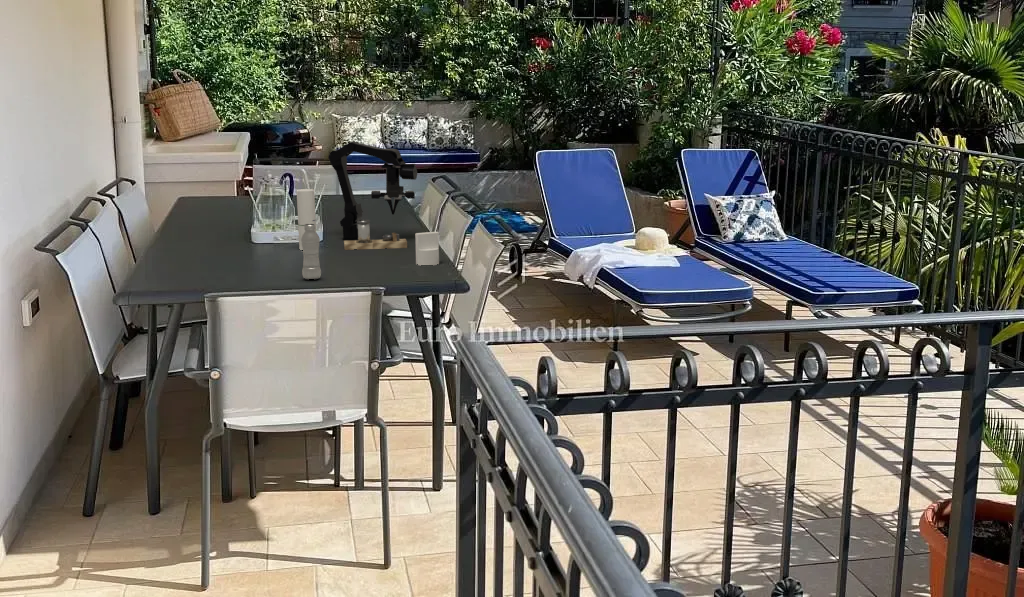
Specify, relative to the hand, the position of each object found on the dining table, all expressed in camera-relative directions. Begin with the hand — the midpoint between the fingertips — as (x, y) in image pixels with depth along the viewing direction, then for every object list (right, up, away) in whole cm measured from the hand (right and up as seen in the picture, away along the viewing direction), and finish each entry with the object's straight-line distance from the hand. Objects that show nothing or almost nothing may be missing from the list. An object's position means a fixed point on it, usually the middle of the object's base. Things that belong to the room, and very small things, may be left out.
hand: (393, 214), depth 441 cm
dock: (-6, -15, -13) cm, 21 cm away
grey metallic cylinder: (-10, -15, -14) cm, 23 cm away
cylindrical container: (-33, -17, -19) cm, 42 cm away
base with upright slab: (+19, -23, -48) cm, 56 cm away
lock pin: (+1, -12, -13) cm, 18 cm away
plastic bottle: (-20, -30, -76) cm, 85 cm away
